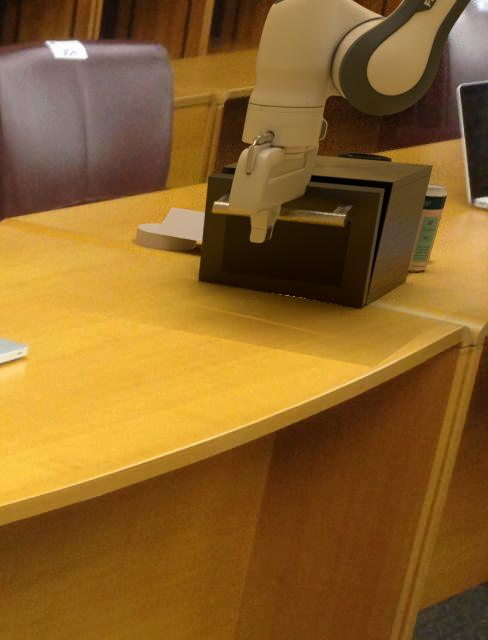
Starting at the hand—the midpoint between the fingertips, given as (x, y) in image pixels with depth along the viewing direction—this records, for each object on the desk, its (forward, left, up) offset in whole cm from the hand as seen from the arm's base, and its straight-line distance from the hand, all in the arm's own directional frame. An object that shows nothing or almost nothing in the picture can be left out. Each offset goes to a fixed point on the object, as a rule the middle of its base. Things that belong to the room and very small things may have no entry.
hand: (259, 241), depth 198 cm
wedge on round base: (+22, -33, -9) cm, 41 cm away
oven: (0, -24, -9) cm, 26 cm away
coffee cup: (+2, -48, -9) cm, 49 cm away
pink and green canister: (-9, -43, -9) cm, 45 cm away
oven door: (0, -11, -10) cm, 14 cm away
